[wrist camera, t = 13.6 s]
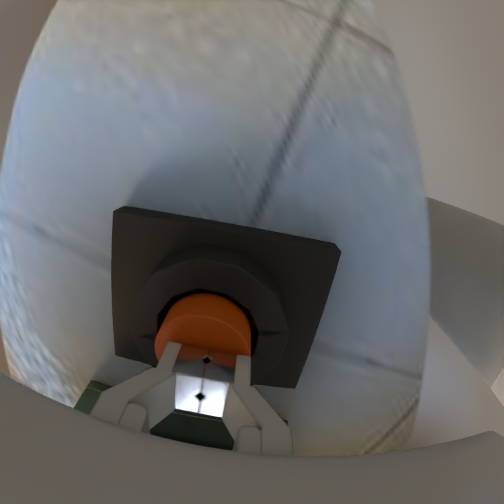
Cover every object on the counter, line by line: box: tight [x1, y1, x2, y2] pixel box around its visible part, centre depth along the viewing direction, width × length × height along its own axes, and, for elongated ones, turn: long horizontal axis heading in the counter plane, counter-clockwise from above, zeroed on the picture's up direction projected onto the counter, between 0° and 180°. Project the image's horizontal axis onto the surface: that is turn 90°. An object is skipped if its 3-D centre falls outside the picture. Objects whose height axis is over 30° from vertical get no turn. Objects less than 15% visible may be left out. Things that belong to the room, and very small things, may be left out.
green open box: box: [74, 381, 288, 451], centre depth 15 cm, size 14×12×9 cm
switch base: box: [111, 206, 341, 389], centre depth 13 cm, size 10×8×3 cm
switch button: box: [155, 293, 251, 362], centre depth 11 cm, size 4×4×2 cm
